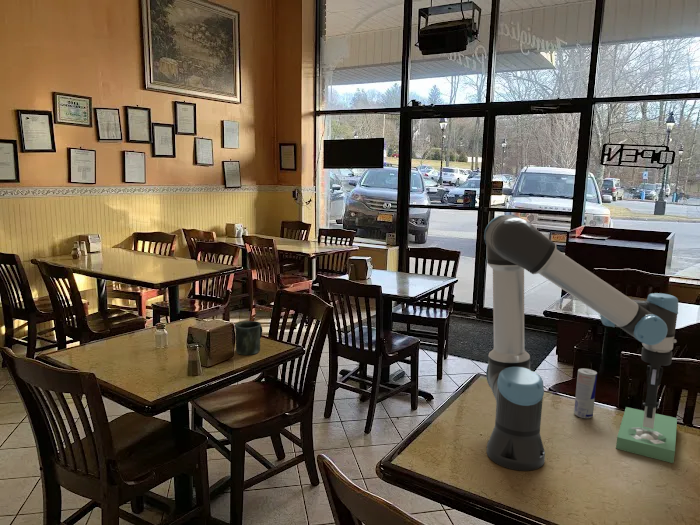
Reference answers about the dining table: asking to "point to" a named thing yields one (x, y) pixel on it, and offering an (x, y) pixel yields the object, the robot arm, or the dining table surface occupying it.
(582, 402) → the beverage can
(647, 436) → the ball
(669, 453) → the green
